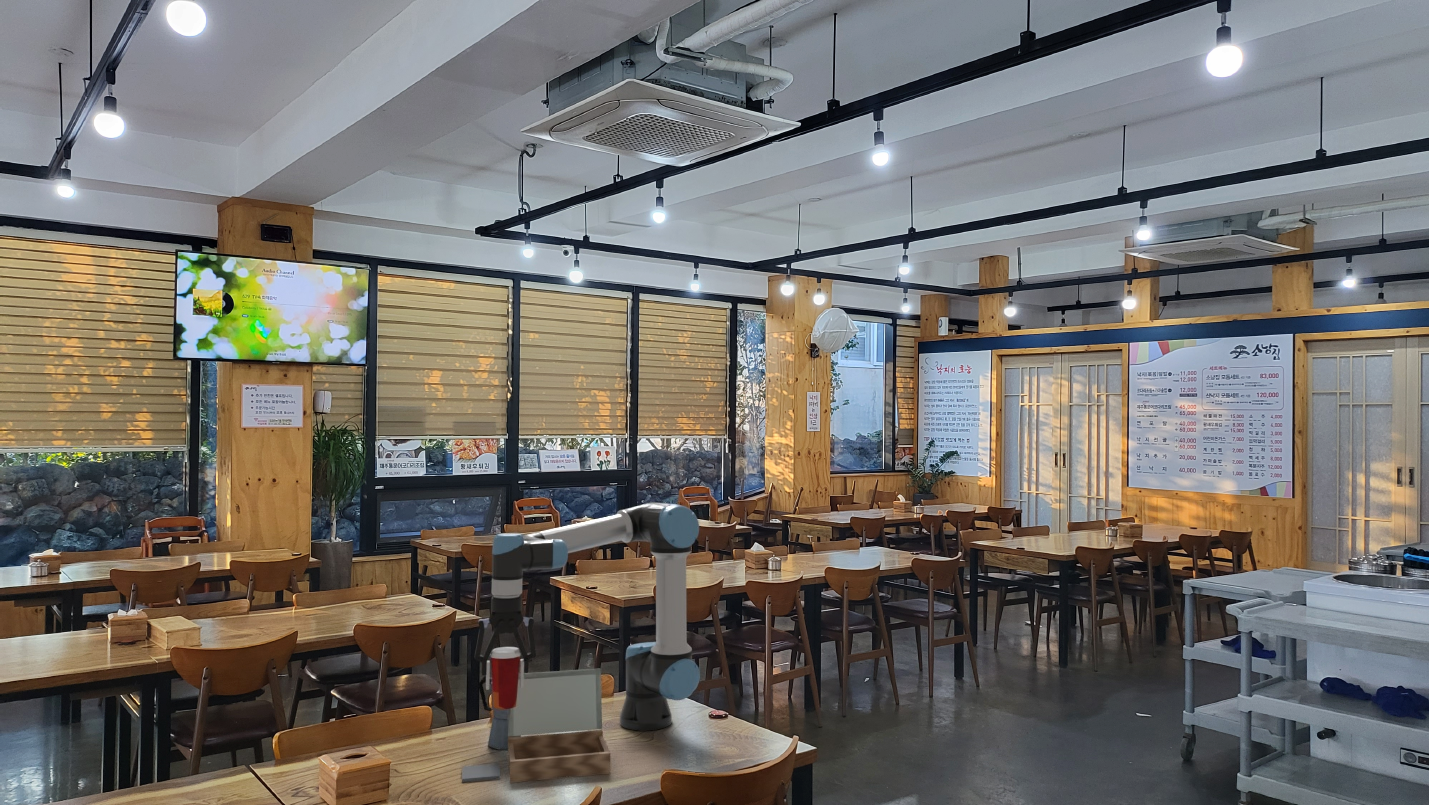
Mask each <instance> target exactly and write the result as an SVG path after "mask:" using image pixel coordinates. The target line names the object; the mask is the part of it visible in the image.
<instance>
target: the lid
mask: <svg viewBox="0 0 1429 805" xmlns="http://www.w3.org/2000/svg"><path fill="white" fill-rule="evenodd" d="M601 673H602V668H588V669H585V668H584V669H573V670H559V671H557V670H556V671H543V672H542V671H540V672H528V673H524V688H520V673H519V676H518V690H517V702H516V707H514V708H511V709H508V736H520V735H521V736H534V735H546V734H558V733H571V732H583V731H595V730H602V729H603V714H602V713H603V712H602V711H603V710H602V709H603V707H602V706H603V704H602V674H601Z"/></svg>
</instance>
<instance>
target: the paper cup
mask: <svg viewBox="0 0 1429 805" xmlns="http://www.w3.org/2000/svg"><path fill="white" fill-rule="evenodd" d="M521 656H522V653H521V651H520V648H519V647H515V646H502V647H496V648H492V651H491V653H490V655H489V657H490V660H491V662H490V666H491V677H492V689H493V706H494V708H496V709H511V708H514V707H516V702H517V690H518V676H519V674H520V658H521Z"/></svg>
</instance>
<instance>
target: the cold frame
mask: <svg viewBox="0 0 1429 805" xmlns="http://www.w3.org/2000/svg"><path fill="white" fill-rule="evenodd" d="M603 732H604V731H603V730H602V729H595V730H583V731H571V732H558V733H546V734H534V735H521V737H510V738H508V749H507V767H508V775H509V776H508V777H509V783H510V784H512V783H521V782H532V781H543V780H552V779H553V780H554V779H563V778H564V779H565V778H574V777H576V778H577V777H586V776H596V775H606V774H607V775H609V774H611V752H610V749H609V745H608V744H607V741H606V740H605V737H604V734H603Z"/></svg>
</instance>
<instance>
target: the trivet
mask: <svg viewBox="0 0 1429 805" xmlns="http://www.w3.org/2000/svg"><path fill="white" fill-rule="evenodd" d="M500 770H501V769H500V763H499V762H497V763H486V764H485V763H484V764H473V765H462V768H461V773H462V774H461V783H470V782H481V781H493V780H500V779H501V773H500V772H501V771H500Z"/></svg>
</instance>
